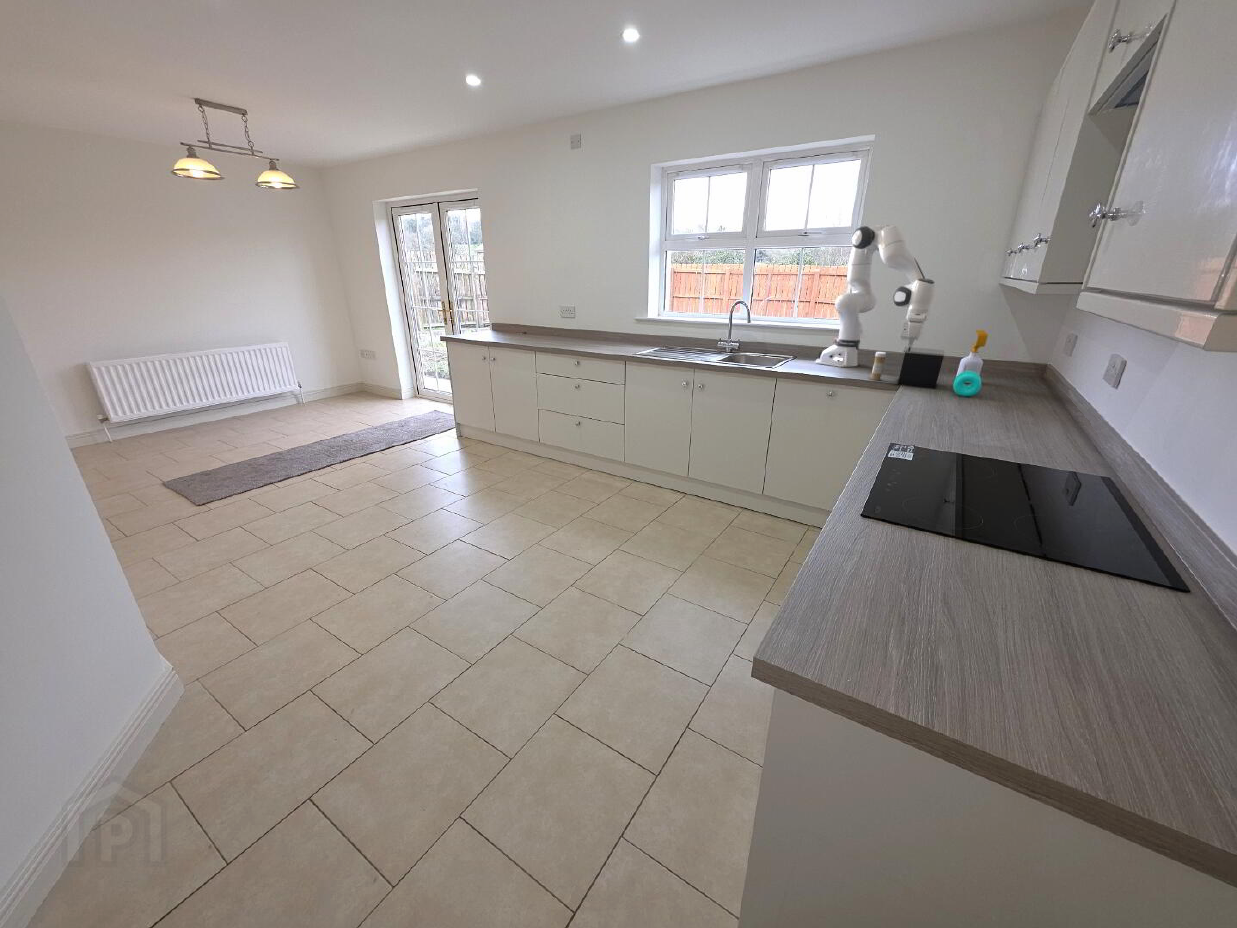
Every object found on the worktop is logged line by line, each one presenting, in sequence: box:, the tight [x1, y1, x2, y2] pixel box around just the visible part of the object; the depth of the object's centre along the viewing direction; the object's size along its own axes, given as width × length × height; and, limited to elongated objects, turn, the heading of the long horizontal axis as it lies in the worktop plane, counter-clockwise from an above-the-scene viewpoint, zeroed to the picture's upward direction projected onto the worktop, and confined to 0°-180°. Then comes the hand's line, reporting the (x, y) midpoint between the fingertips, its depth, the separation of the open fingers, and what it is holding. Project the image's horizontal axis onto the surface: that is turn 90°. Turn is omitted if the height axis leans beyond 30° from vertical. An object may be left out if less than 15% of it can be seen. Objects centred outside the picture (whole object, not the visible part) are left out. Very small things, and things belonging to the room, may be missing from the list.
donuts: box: [952, 371, 982, 397], centre depth 215 cm, size 10×10×10 cm
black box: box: [897, 353, 945, 390], centre depth 232 cm, size 16×13×15 cm
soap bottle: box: [955, 329, 989, 384], centre depth 235 cm, size 9×9×25 cm
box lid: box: [902, 346, 945, 357], centre depth 228 cm, size 16×13×5 cm
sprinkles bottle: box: [870, 351, 887, 381], centre depth 241 cm, size 5×5×13 cm
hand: (910, 346), depth 231 cm, fingers closed on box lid, 5 cm apart
